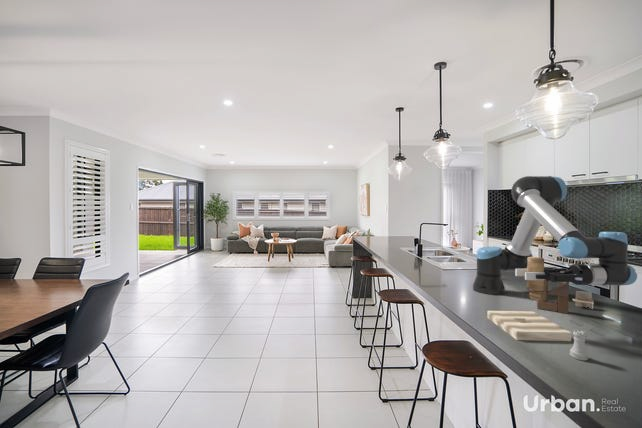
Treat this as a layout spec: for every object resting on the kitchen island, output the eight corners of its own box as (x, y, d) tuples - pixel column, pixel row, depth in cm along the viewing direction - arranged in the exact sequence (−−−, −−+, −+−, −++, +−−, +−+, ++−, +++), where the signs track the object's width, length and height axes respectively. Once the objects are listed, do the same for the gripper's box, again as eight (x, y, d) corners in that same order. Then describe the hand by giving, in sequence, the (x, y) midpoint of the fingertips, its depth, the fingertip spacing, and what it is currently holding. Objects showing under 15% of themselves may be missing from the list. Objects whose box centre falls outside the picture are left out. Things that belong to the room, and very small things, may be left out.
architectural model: (594, 311, 132) (594, 294, 131) (574, 308, 135) (574, 292, 135) (591, 309, 135) (592, 292, 134) (572, 306, 138) (572, 290, 138)
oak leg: (523, 296, 114) (524, 256, 113) (537, 296, 113) (538, 256, 113) (532, 300, 108) (533, 259, 108) (547, 300, 108) (548, 259, 108)
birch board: (487, 317, 123) (487, 310, 123) (532, 318, 122) (533, 311, 122) (516, 339, 103) (516, 331, 103) (571, 341, 102) (571, 332, 102)
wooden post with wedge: (568, 313, 127) (569, 271, 127) (537, 308, 133) (538, 268, 133) (567, 311, 130) (568, 270, 130) (536, 306, 136) (537, 267, 136)
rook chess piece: (565, 354, 93) (566, 328, 93) (578, 353, 93) (579, 328, 93) (579, 361, 89) (579, 334, 88) (592, 360, 89) (593, 334, 89)
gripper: (607, 291, 101) (537, 291, 102) (566, 278, 119) (506, 278, 120) (608, 269, 101) (537, 269, 102) (566, 259, 119) (506, 259, 120)
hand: (520, 274), depth 111 cm, fingers closed on oak leg, 5 cm apart
